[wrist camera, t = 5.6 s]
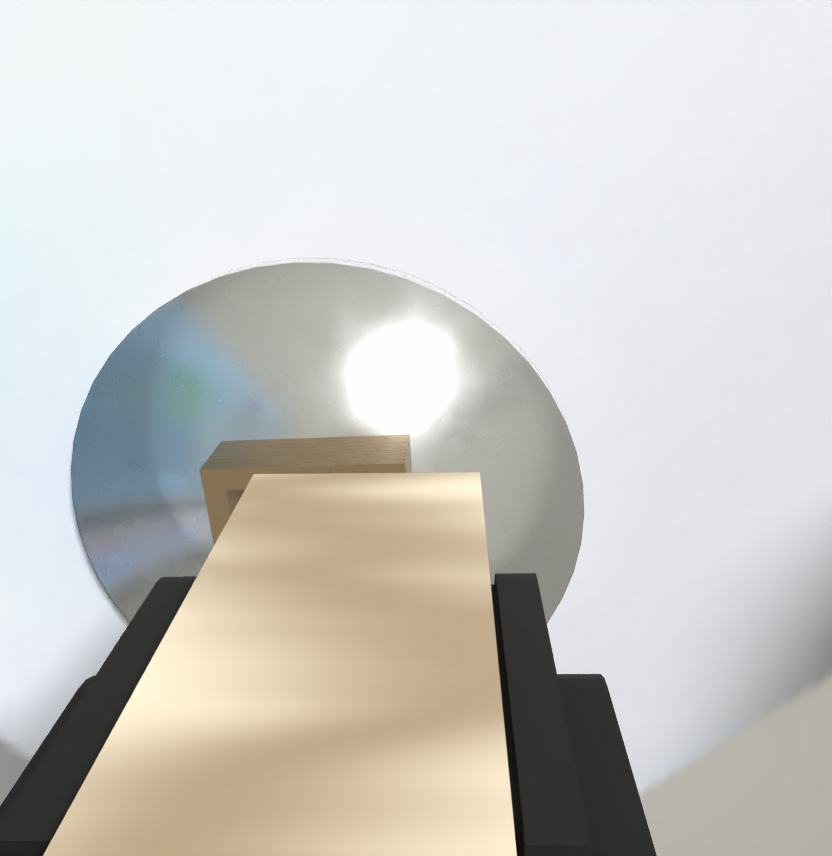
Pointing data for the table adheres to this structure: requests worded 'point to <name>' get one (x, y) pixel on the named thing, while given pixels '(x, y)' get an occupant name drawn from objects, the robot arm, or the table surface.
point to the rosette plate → (315, 417)
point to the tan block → (318, 687)
